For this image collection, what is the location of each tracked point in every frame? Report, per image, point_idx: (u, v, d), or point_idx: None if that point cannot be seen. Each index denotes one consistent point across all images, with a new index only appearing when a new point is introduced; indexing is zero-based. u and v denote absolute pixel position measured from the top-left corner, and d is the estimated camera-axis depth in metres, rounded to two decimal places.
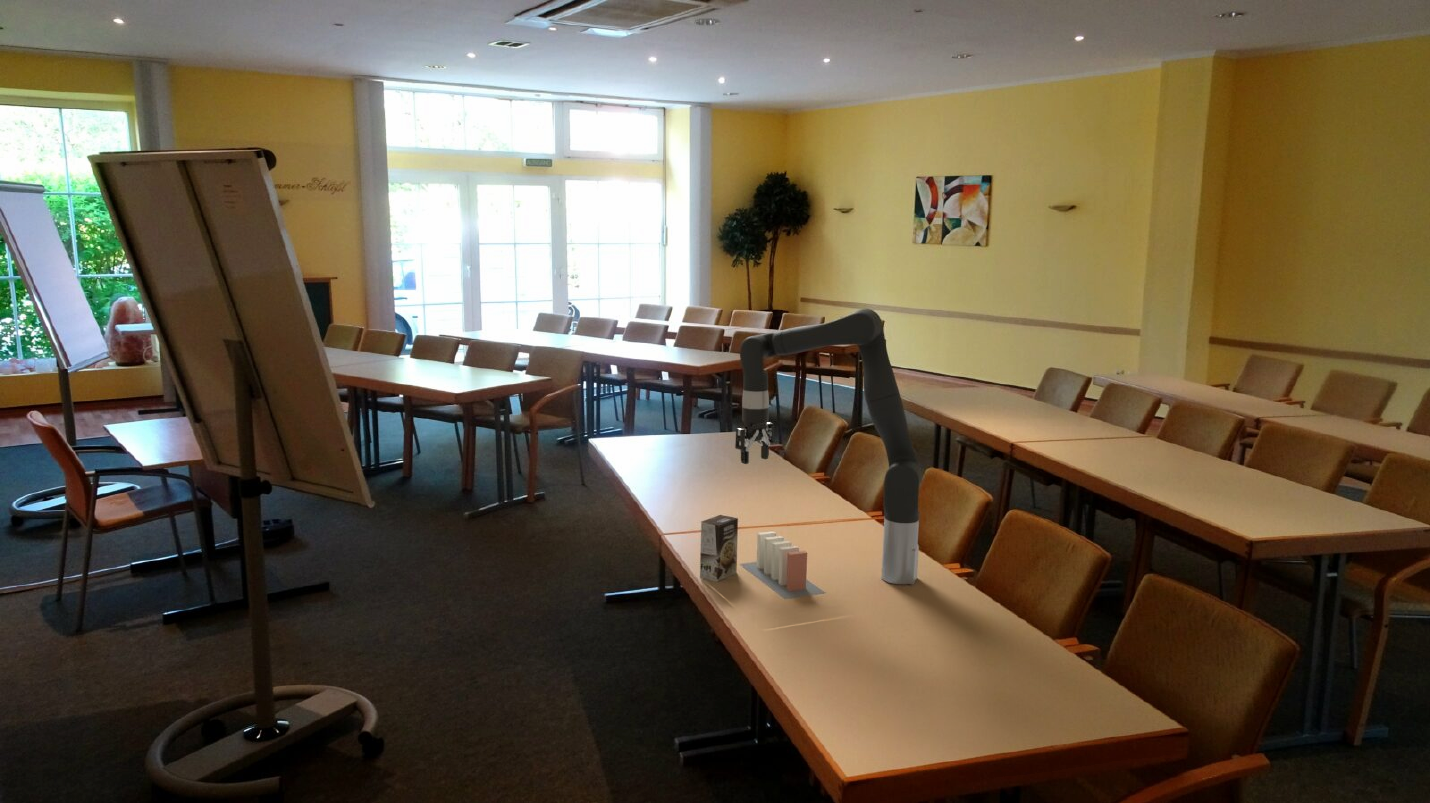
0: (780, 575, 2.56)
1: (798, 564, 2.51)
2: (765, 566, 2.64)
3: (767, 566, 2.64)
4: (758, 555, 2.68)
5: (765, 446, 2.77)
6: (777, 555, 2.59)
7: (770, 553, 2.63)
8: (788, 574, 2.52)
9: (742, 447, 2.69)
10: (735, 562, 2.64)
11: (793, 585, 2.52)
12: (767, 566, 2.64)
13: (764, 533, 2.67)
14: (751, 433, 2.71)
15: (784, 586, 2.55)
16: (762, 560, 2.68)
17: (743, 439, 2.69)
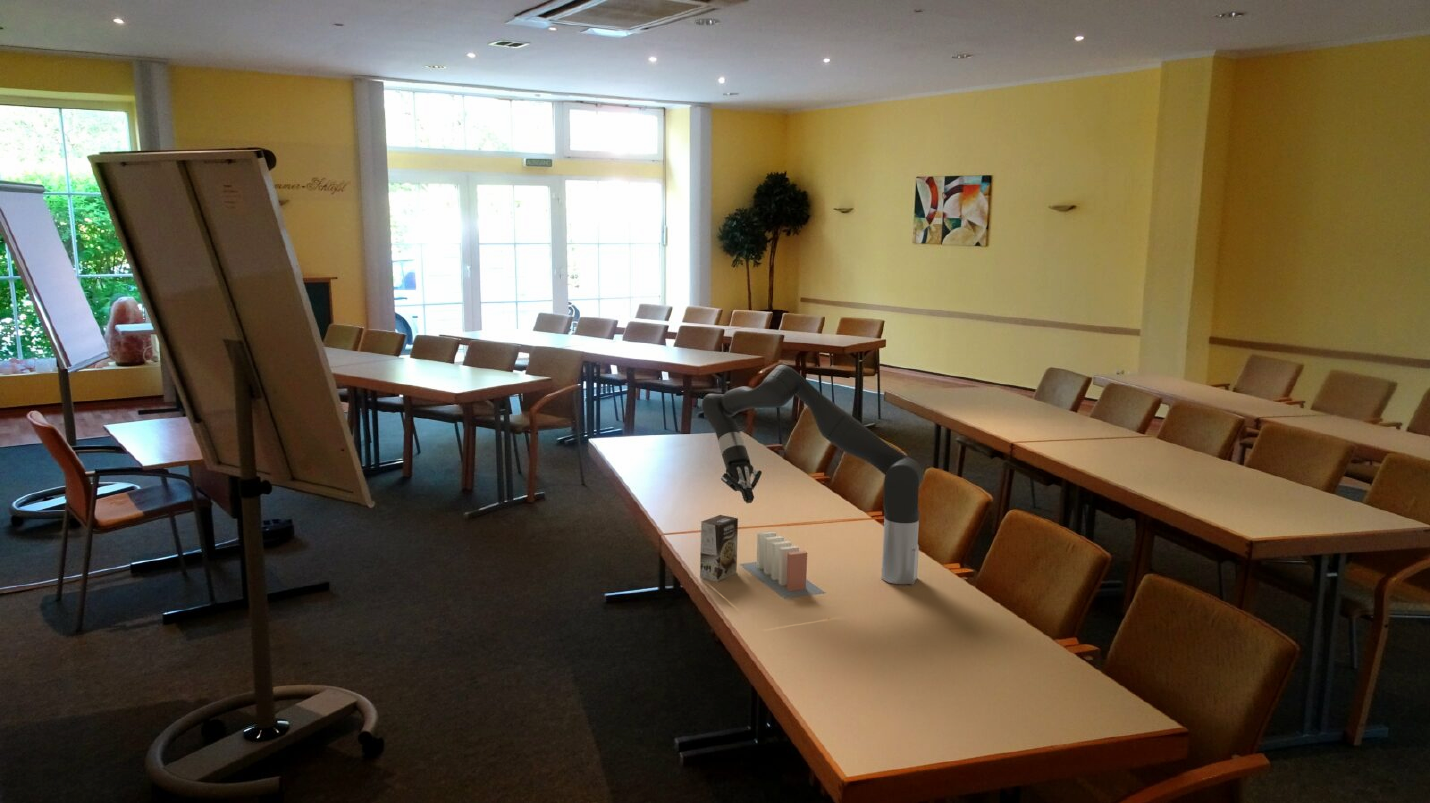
0: (780, 575, 2.56)
1: (798, 564, 2.51)
2: (765, 566, 2.64)
3: (767, 566, 2.64)
4: (758, 555, 2.68)
5: None
6: (777, 555, 2.59)
7: (770, 553, 2.63)
8: (788, 574, 2.52)
9: None
10: (735, 562, 2.64)
11: (793, 585, 2.52)
12: (767, 566, 2.64)
13: (764, 533, 2.67)
14: None
15: (784, 586, 2.55)
16: (762, 560, 2.68)
17: None
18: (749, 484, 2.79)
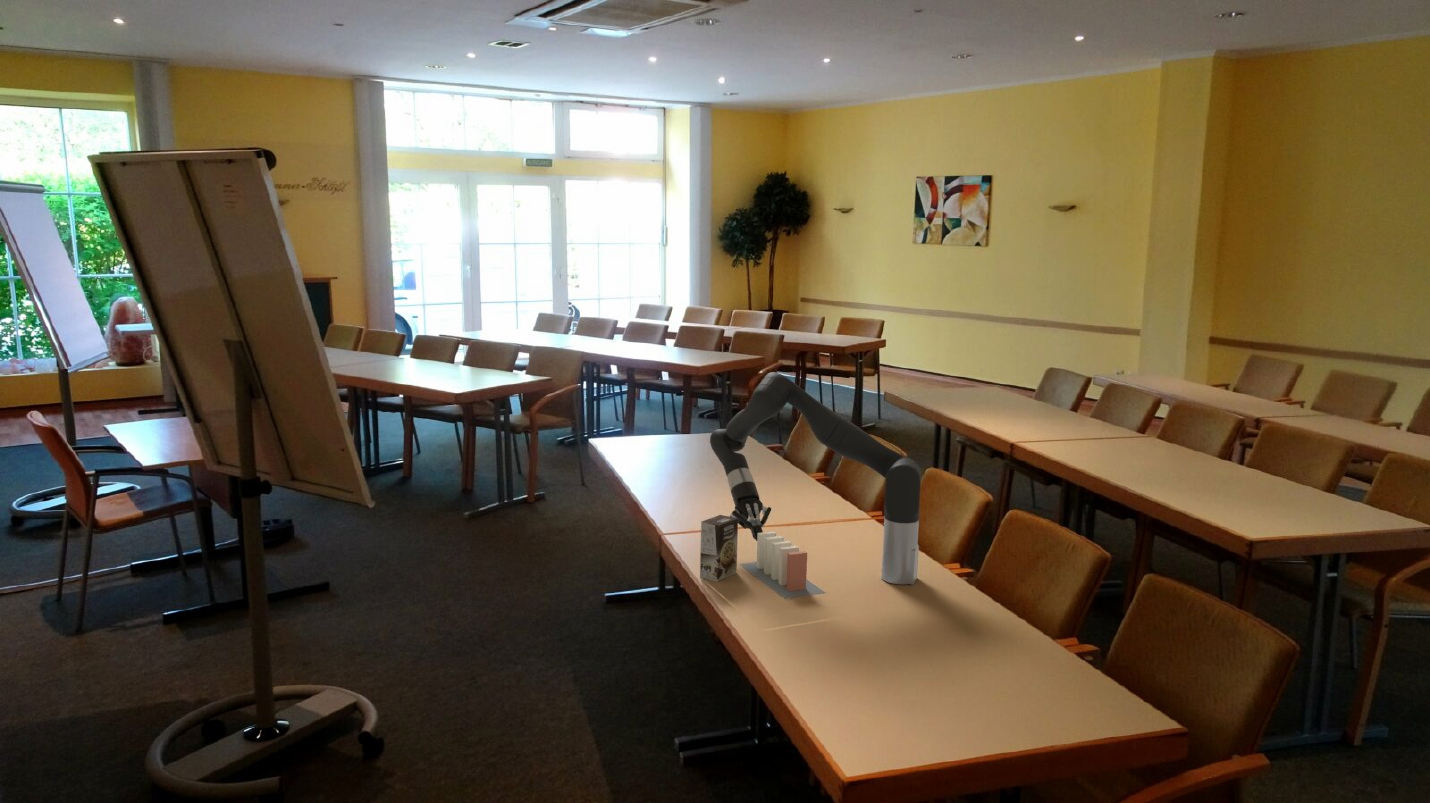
0: (780, 575, 2.56)
1: (798, 564, 2.51)
2: (765, 566, 2.64)
3: (767, 566, 2.64)
4: (758, 555, 2.68)
5: None
6: (777, 555, 2.59)
7: (770, 553, 2.63)
8: (788, 574, 2.52)
9: None
10: (735, 562, 2.64)
11: (793, 585, 2.52)
12: (767, 566, 2.64)
13: (764, 533, 2.67)
14: None
15: (784, 586, 2.55)
16: (762, 560, 2.68)
17: None
18: (758, 521, 2.74)
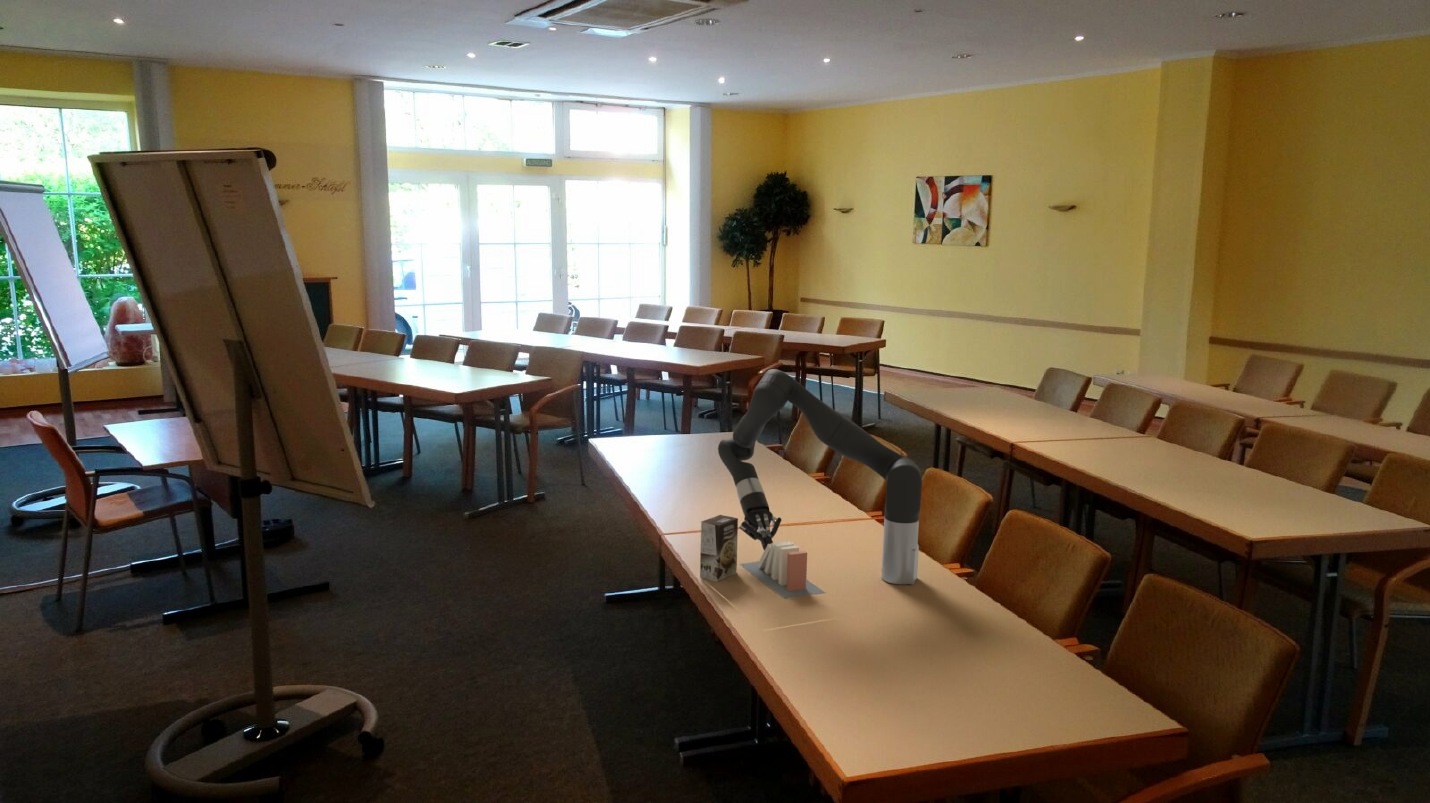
0: (780, 575, 2.56)
1: (798, 564, 2.51)
2: (767, 567, 2.63)
3: (768, 568, 2.63)
4: (762, 559, 2.66)
5: None
6: (778, 556, 2.58)
7: None
8: (788, 574, 2.52)
9: None
10: (735, 562, 2.64)
11: (793, 585, 2.52)
12: (769, 568, 2.63)
13: None
14: None
15: (784, 586, 2.55)
16: (764, 563, 2.67)
17: None
18: (769, 532, 2.69)
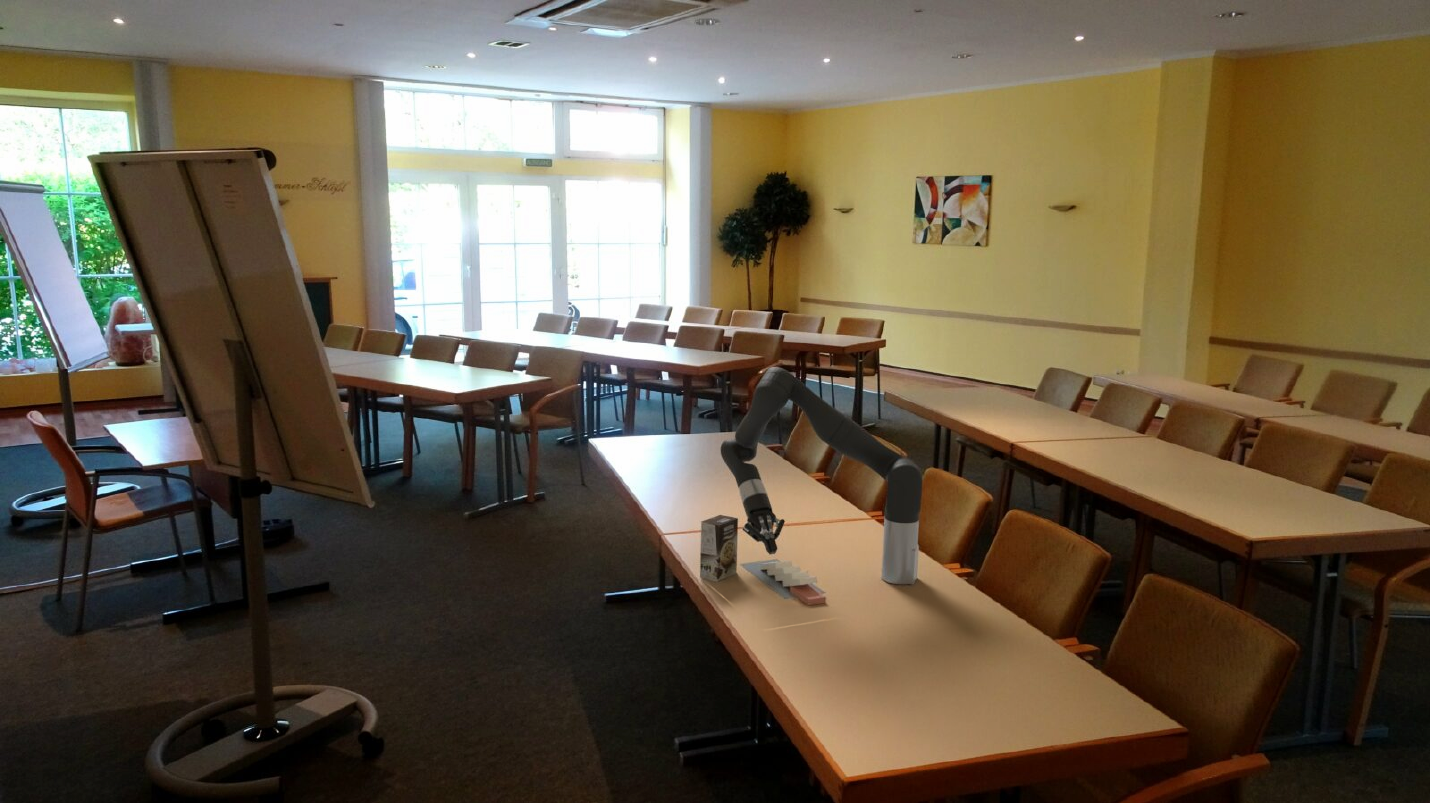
0: (787, 583, 2.53)
1: None
2: (770, 572, 2.61)
3: None
4: (765, 566, 2.64)
5: None
6: None
7: None
8: (797, 594, 2.47)
9: None
10: (735, 562, 2.64)
11: None
12: (772, 574, 2.61)
13: (780, 565, 2.59)
14: None
15: (784, 586, 2.55)
16: None
17: None
18: (772, 534, 2.67)
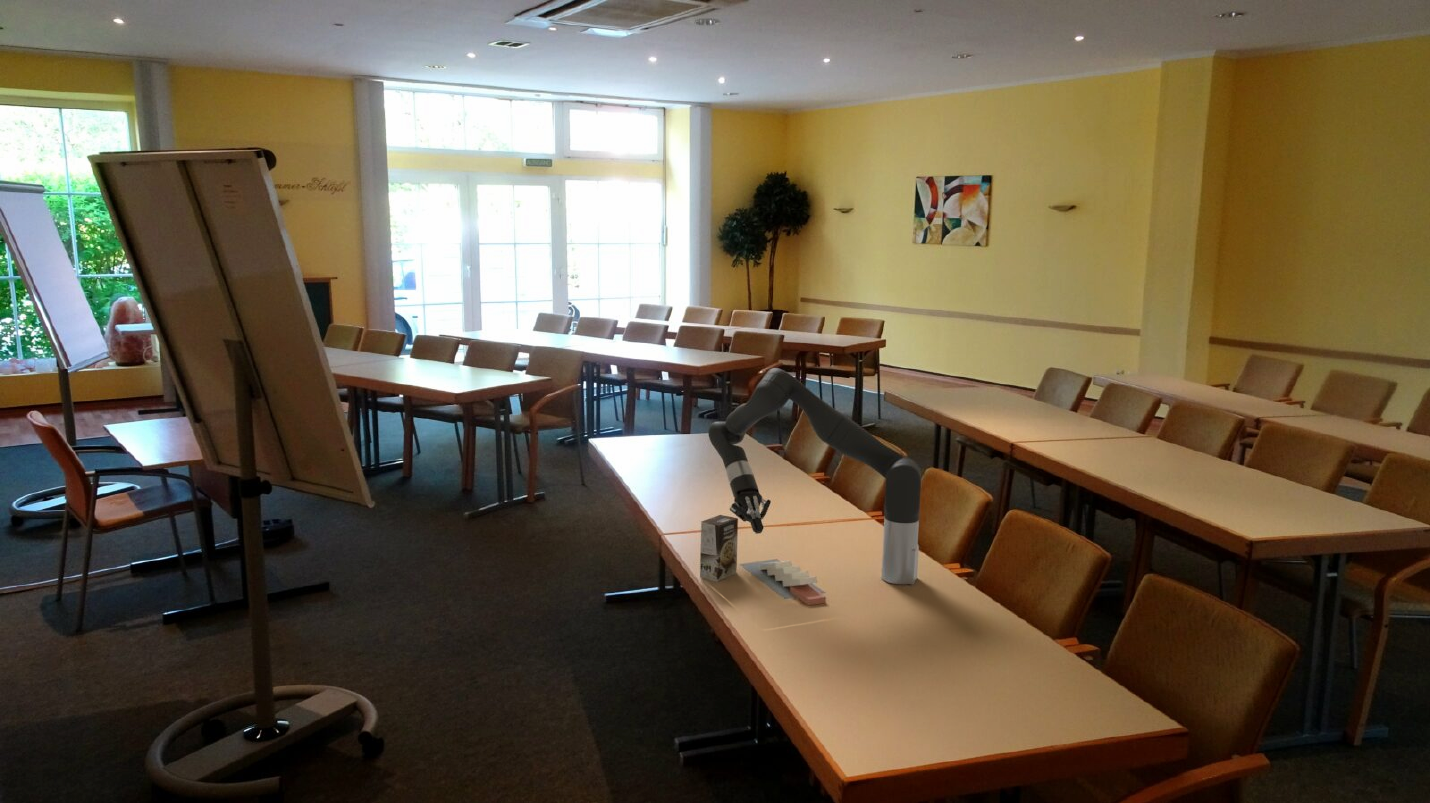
0: (787, 583, 2.53)
1: None
2: (770, 572, 2.61)
3: None
4: (765, 566, 2.64)
5: None
6: None
7: None
8: (797, 594, 2.47)
9: None
10: (735, 562, 2.64)
11: None
12: (772, 574, 2.61)
13: (780, 565, 2.59)
14: None
15: (784, 586, 2.55)
16: None
17: None
18: (758, 514, 2.73)
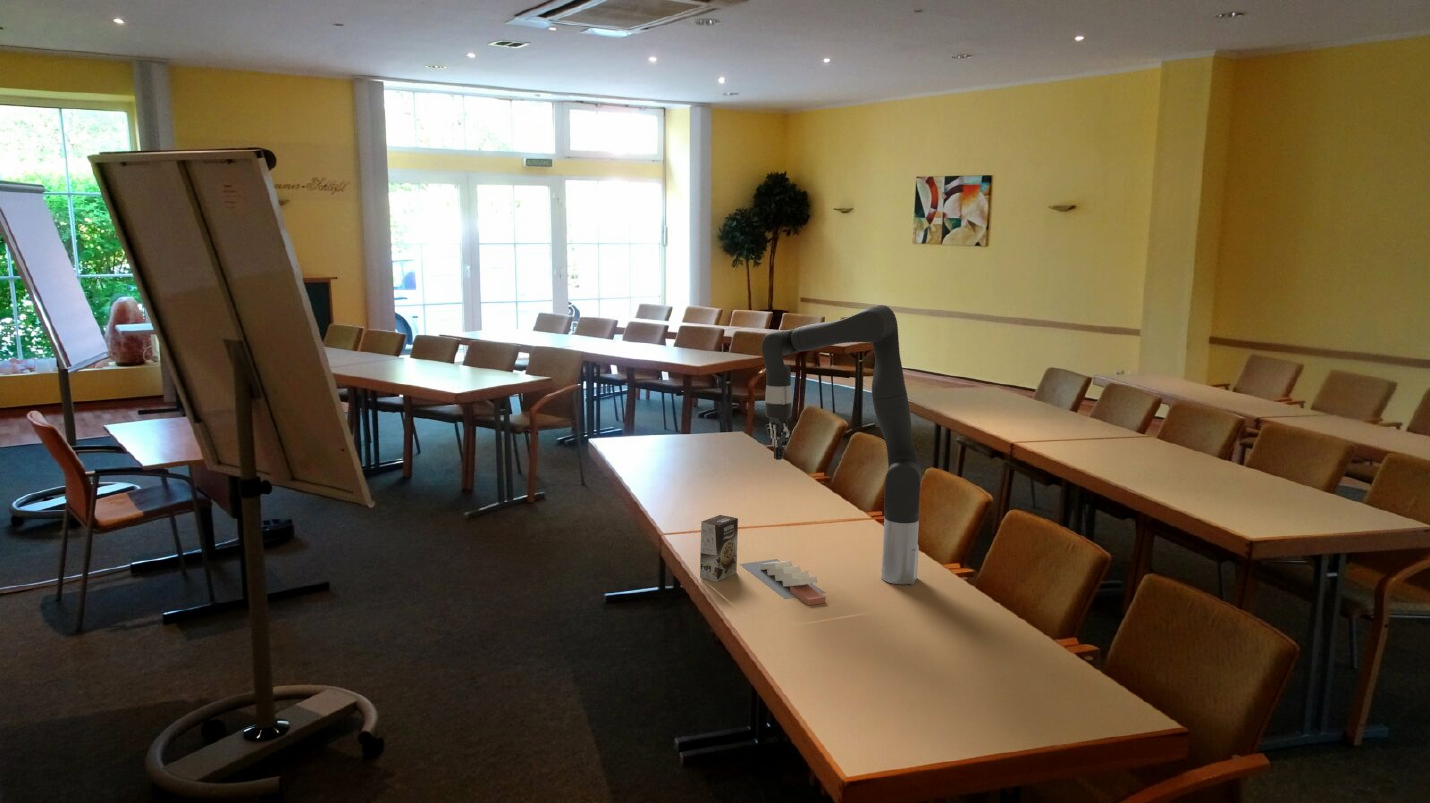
0: (787, 583, 2.53)
1: None
2: (770, 572, 2.61)
3: None
4: (765, 566, 2.64)
5: None
6: None
7: None
8: (797, 594, 2.47)
9: (770, 440, 2.80)
10: (735, 562, 2.64)
11: None
12: (772, 574, 2.61)
13: (780, 565, 2.59)
14: None
15: (784, 586, 2.55)
16: None
17: (768, 433, 2.81)
18: None
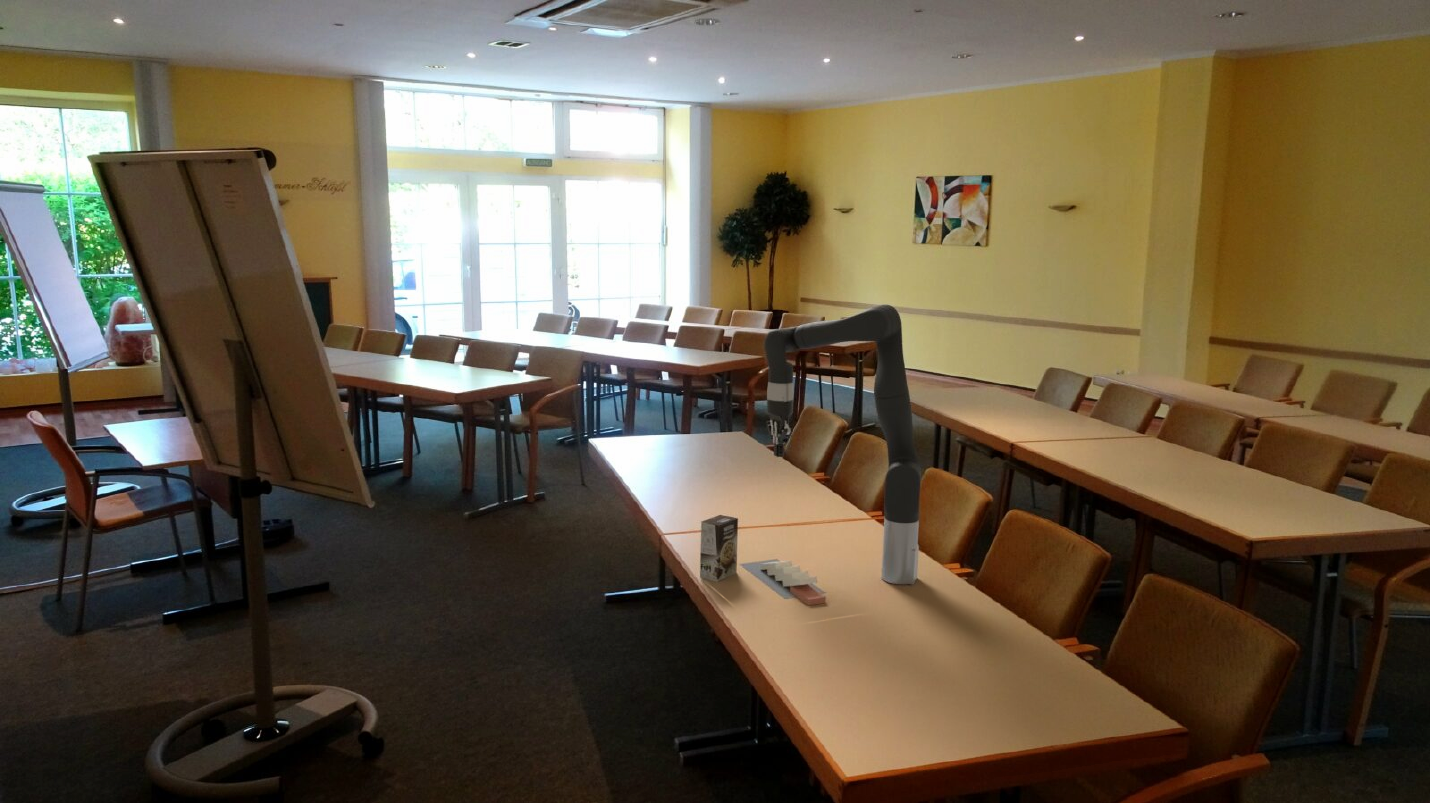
0: (787, 583, 2.53)
1: None
2: (770, 572, 2.61)
3: None
4: (765, 566, 2.64)
5: None
6: None
7: None
8: (797, 594, 2.47)
9: (770, 436, 2.80)
10: (735, 562, 2.64)
11: None
12: (772, 574, 2.61)
13: (780, 565, 2.59)
14: None
15: (784, 586, 2.55)
16: None
17: (769, 430, 2.81)
18: None
